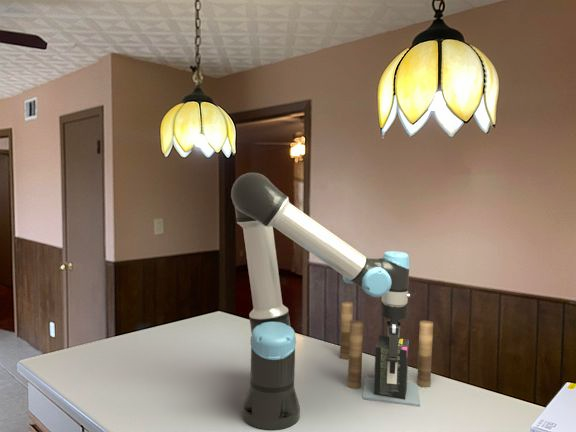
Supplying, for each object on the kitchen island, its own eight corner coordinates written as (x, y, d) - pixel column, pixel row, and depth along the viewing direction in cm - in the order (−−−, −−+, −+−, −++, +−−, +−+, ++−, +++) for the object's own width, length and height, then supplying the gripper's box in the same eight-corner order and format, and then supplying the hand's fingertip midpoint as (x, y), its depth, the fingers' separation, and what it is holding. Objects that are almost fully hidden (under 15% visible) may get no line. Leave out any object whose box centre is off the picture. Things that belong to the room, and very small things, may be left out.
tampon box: (405, 400, 127) (408, 350, 126) (373, 395, 130) (375, 346, 129) (407, 384, 137) (409, 338, 136) (377, 379, 140) (378, 334, 139)
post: (430, 388, 136) (433, 324, 135) (417, 386, 137) (420, 323, 136) (429, 383, 140) (432, 321, 139) (416, 381, 141) (419, 319, 140)
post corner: (360, 389, 134) (362, 324, 133) (347, 388, 135) (349, 323, 134) (361, 384, 138) (363, 321, 137) (348, 382, 139) (350, 319, 138)
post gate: (350, 360, 158) (352, 304, 157) (339, 358, 159) (341, 303, 157) (351, 356, 162) (353, 302, 160) (340, 354, 162) (342, 301, 161)
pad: (420, 406, 125) (420, 404, 125) (362, 399, 128) (362, 397, 128) (417, 385, 138) (417, 383, 138) (365, 379, 142) (365, 377, 142)
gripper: (409, 316, 119) (405, 393, 120) (406, 295, 143) (403, 360, 144) (380, 313, 120) (377, 390, 122) (382, 293, 144) (379, 357, 146)
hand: (391, 374), depth 133 cm, fingers open, 12 cm apart
